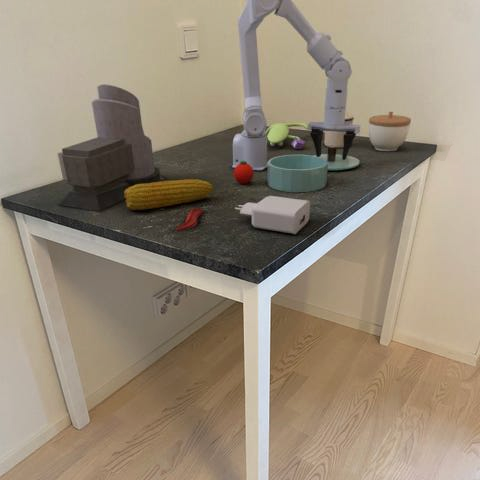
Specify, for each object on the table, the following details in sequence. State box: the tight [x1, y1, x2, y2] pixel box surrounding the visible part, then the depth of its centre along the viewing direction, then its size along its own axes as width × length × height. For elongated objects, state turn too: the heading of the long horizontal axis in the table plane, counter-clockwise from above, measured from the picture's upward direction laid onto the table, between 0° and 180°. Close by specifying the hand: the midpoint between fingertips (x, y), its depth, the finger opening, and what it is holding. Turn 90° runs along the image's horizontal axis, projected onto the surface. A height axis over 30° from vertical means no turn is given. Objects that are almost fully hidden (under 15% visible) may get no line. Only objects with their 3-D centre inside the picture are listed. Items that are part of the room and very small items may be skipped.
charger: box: [234, 195, 311, 235], centre depth 100 cm, size 5×9×15 cm
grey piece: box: [57, 83, 166, 212], centre depth 117 cm, size 30×16×24 cm, turn 156°
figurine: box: [265, 122, 308, 150], centre depth 163 cm, size 18×27×6 cm
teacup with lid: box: [324, 111, 355, 149], centre depth 158 cm, size 12×9×12 cm
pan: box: [267, 154, 329, 193], centre depth 124 cm, size 15×15×6 cm
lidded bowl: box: [368, 111, 412, 152], centre depth 152 cm, size 13×13×11 cm
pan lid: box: [312, 146, 361, 172], centre depth 139 cm, size 16×16×5 cm
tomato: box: [233, 161, 255, 185], centre depth 125 cm, size 5×5×6 cm
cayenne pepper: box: [175, 208, 205, 231], centre depth 103 cm, size 12×5×2 cm, turn 150°
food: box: [124, 178, 214, 211], centre depth 111 cm, size 21×6×6 cm, turn 118°
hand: (331, 157), depth 139 cm, fingers open, 7 cm apart
